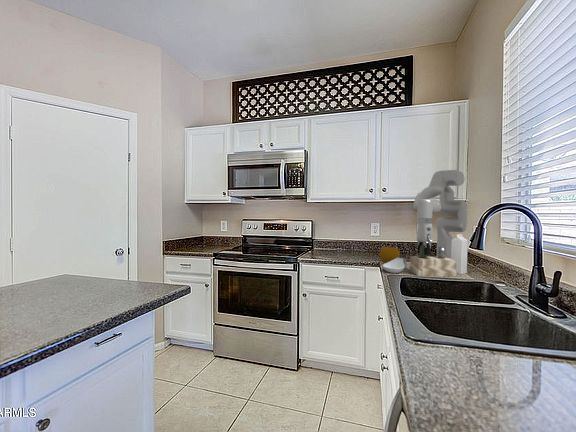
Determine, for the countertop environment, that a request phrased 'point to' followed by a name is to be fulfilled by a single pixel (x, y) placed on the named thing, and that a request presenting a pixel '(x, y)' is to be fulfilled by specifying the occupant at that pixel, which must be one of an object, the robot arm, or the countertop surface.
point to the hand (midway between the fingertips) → (423, 253)
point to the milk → (460, 253)
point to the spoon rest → (395, 265)
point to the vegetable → (422, 252)
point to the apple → (389, 254)
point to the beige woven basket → (433, 265)
